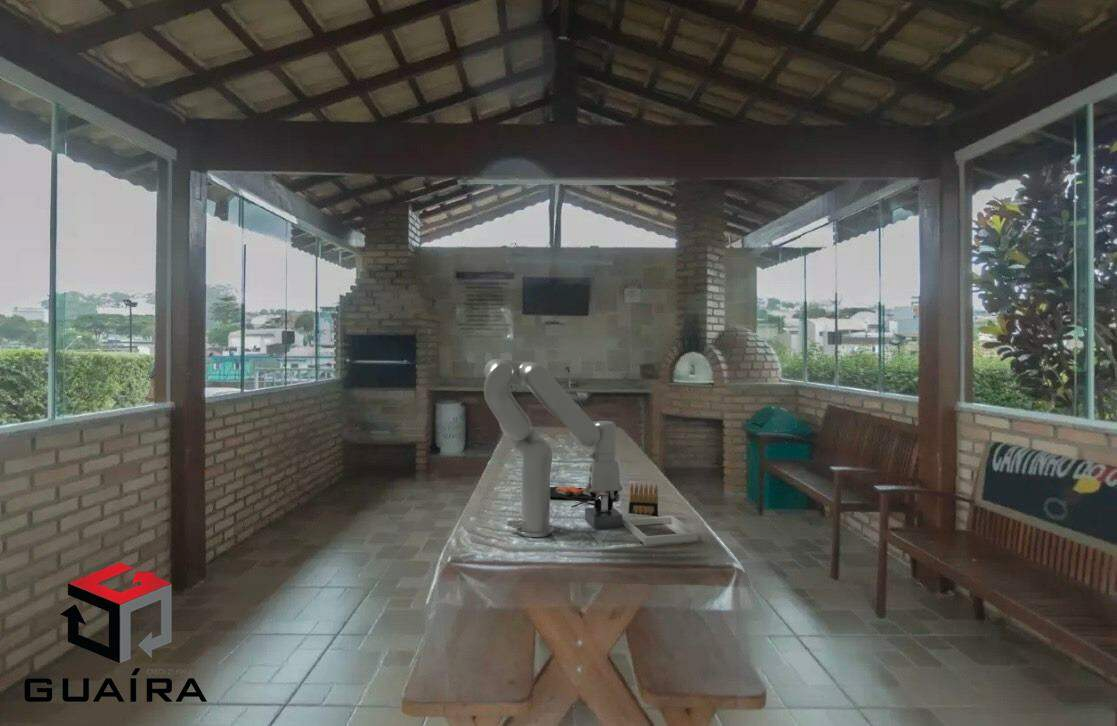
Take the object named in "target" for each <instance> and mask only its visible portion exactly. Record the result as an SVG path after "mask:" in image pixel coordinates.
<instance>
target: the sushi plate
mask: <svg viewBox="0 0 1117 726" xmlns="http://www.w3.org/2000/svg"><path fill="white" fill-rule="evenodd" d="M585 488H586V487H576V486H567V487H566V486H550V498H555V499H556V498H557V499H568V500H572V501H576V502H579V503H576V504H574V505H572V506H570V508H575V507H578V506H581V505H582V504H584V503H585V504H588V505H593V506H594V502H590V501H592V500H594V498H593V496H592V495H590V494H588V493H587V492H585ZM590 490H591V491H593V490H592V489H590ZM593 492H594V491H593ZM600 493H608V491H604V492H600ZM617 495H618V493H617V494H616V496H615V497H614V499H613V500H616V498H617ZM583 500H585V501H583Z"/></svg>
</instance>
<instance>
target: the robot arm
mask: <svg viewBox="0 0 1117 726" xmlns="http://www.w3.org/2000/svg"><path fill="white" fill-rule="evenodd" d="M483 372H484V377H485V381H484V384H483V396H484V400H485V402H486V404H487V407H488V408H489V409H490V411H491V412H492V414H493V415H494V417H495V419H496V420H497V421H498V423H499V427H500V430H501V432H502V433H503V435H504V436H505V437H506V439H507V440H508V441H509V443H510V445H511V446H512V447H513V448H514V450H515V451H516V452H517V454H518V455H519V457H521V459H522V469H521V504H520V505H521V509H520V510H521V513H520V514H521V515H520V516H519V517H518V518H516V520H513V519H512V520H507V521H506V527H507V528H508V527H512V528H511V529H516V533H517V534H519V535H520V536H523V537H527V538H543V537H544V538H545V537H547V536H551V535H552V533H553V532H554V531H555V526H554V525H553V524H551V523H550V521H551V497H550V487H551V470H552V469H551V468H552V464H553V463H552V461H553V451H552V448H551V445H550V444H549V442H548V441H547V440H546V439H545V438H543V437H542V436H540V435H539V433H538V431H537V430H536V429H535V428H534V427H533V424H532V421H531V419H530V417H529V415H527V414H526V412H525V411H524V410H523V408H522V407H521V405H520V404H519V403H518V401H517V400H516V399H515V397H514V396H513V395H514V394H512V391H511V386H523V387H525V386H526V387H527V388H528V390H529V391H530V392H531V393H532V394H533V395H534V396H535V398H536V399H537V400H538V401H539V402H540V404H541V405H542V406H543V407H544V408H545V409H546V410H547V411H548V413H550V414H551V415H552V416H553V417H555V418H556V419H557V420H559V421H560V422H561V423H562V424H563V425H564V426H565V427H566V428H568V430H569V434H570V435H569V436H570V437H571V438H572V440H574V441H576V442H577V443H578V444H580V445H582V446H583V447H586V448H589V447H591V448H593V451H592V453H591V454H589V459H592V460H591V462H590V466H589V474H588V483H587V485H586V487H584V488H585V492H587V493H588V494H590V495H592V496H593V498H594V499H593V503H594V505H593V508H595V509H596V510H597V511H600V500H599V494H600V492H604V491H608V494H609V510H610V511H611V510H612V507H613V508H614V506H613V505H614V500H615V499H614V497H615V496H616V494H617V495H618V493H620V492H621V491H623V490H624V489H623V486H622V484H621V479H620V469H619V468H620V467H619V462H618V460H616V439H617V437H616V436H617V435H616V434H617V432H616V431H617V430H616V429H617V427H616V423H615V422H614V421H611V420H610V421H609V420H598V421H593V420H592V419H591V418H590V417H589V416H588V414H586V412H585V411H584V410H583V409H582V408H581V407H580V406H579V405H578V404H577V403H576V402H575V401H574V399H573V398H572V397H571V396H569V394H568V393H567V392H566V391H565V390H564V388H563V387H562V386H561V385H560V384H559V383H558V382H557V381H556V379H555V378H554V377H553V376H552V374H550V372H549V371H548V370H547V369H546V368H545V366H543V365H542V364H540V363H538V362H533V361H525V360H524V361H523V360H522V361H521V360H513V359H512V360H511V359H504V358H494V359H491V360H489V361H487V363H486V364H485V366H484V370H483ZM590 489H592V490H593V491H594V492H593V491H591V490H590ZM616 497H617V496H616Z"/></svg>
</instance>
